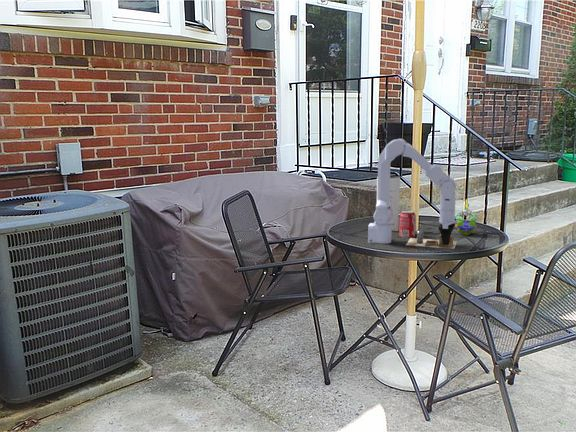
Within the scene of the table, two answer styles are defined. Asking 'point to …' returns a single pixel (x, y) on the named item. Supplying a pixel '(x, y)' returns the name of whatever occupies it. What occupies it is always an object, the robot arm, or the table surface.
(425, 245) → the board
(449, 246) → the block
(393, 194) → the white tumbler
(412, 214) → the soda can
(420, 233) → the peg
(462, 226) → the toy helicopter
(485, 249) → the table surface
